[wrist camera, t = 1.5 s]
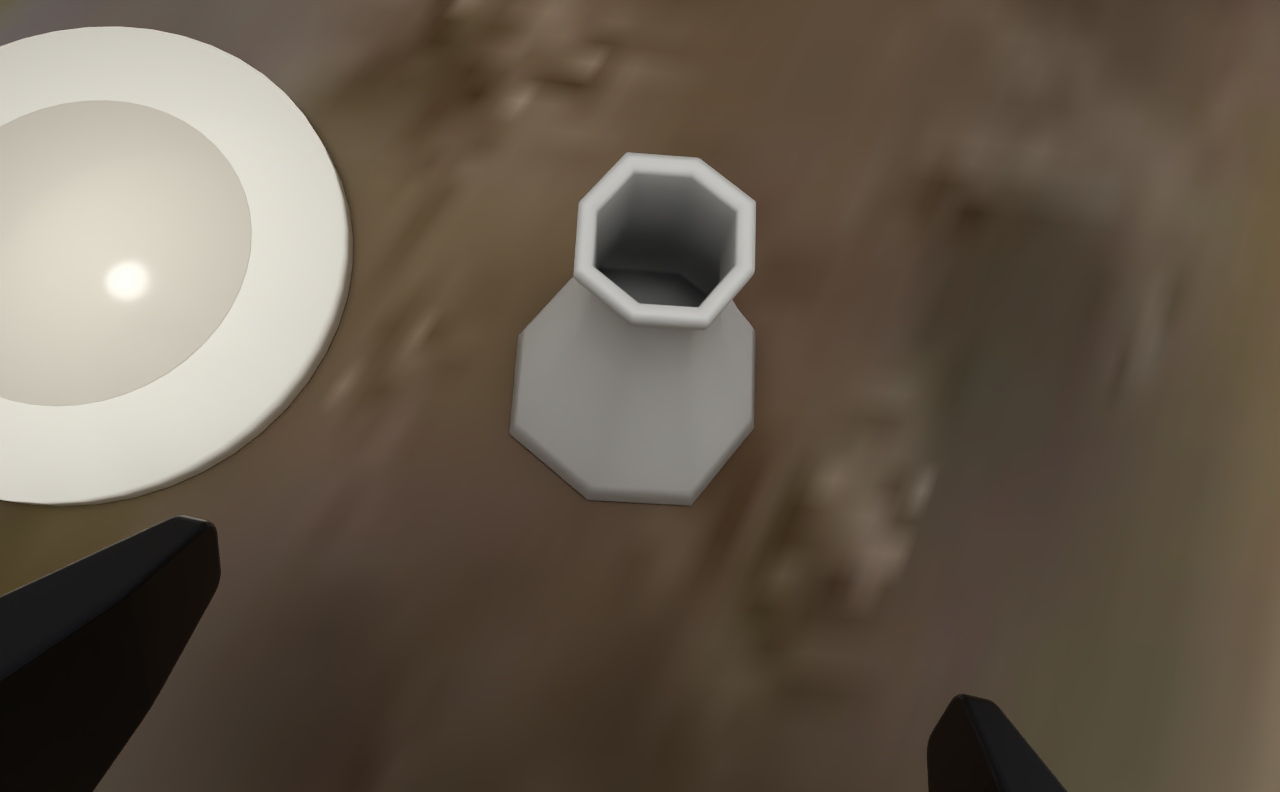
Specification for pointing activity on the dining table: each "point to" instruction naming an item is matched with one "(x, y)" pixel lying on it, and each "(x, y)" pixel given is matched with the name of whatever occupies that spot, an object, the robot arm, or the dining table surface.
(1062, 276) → the dining table surface
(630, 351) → the flask
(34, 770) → the robot arm
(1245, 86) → the dining table surface
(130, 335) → the ceramic plate
